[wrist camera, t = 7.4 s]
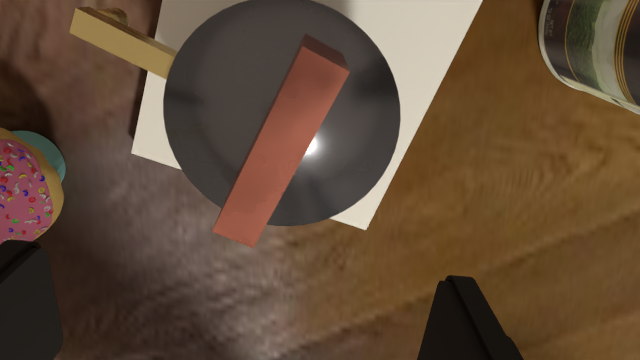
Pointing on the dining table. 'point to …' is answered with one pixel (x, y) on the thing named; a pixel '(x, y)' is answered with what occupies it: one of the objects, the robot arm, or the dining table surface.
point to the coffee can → (594, 47)
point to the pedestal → (385, 31)
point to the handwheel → (268, 108)
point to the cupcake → (29, 185)
